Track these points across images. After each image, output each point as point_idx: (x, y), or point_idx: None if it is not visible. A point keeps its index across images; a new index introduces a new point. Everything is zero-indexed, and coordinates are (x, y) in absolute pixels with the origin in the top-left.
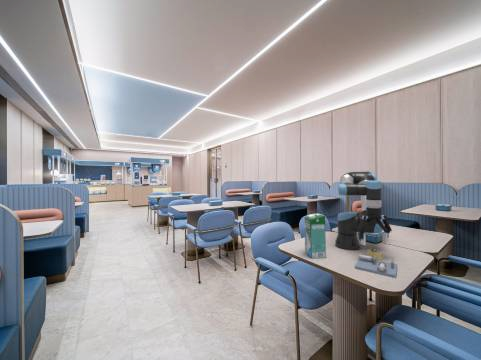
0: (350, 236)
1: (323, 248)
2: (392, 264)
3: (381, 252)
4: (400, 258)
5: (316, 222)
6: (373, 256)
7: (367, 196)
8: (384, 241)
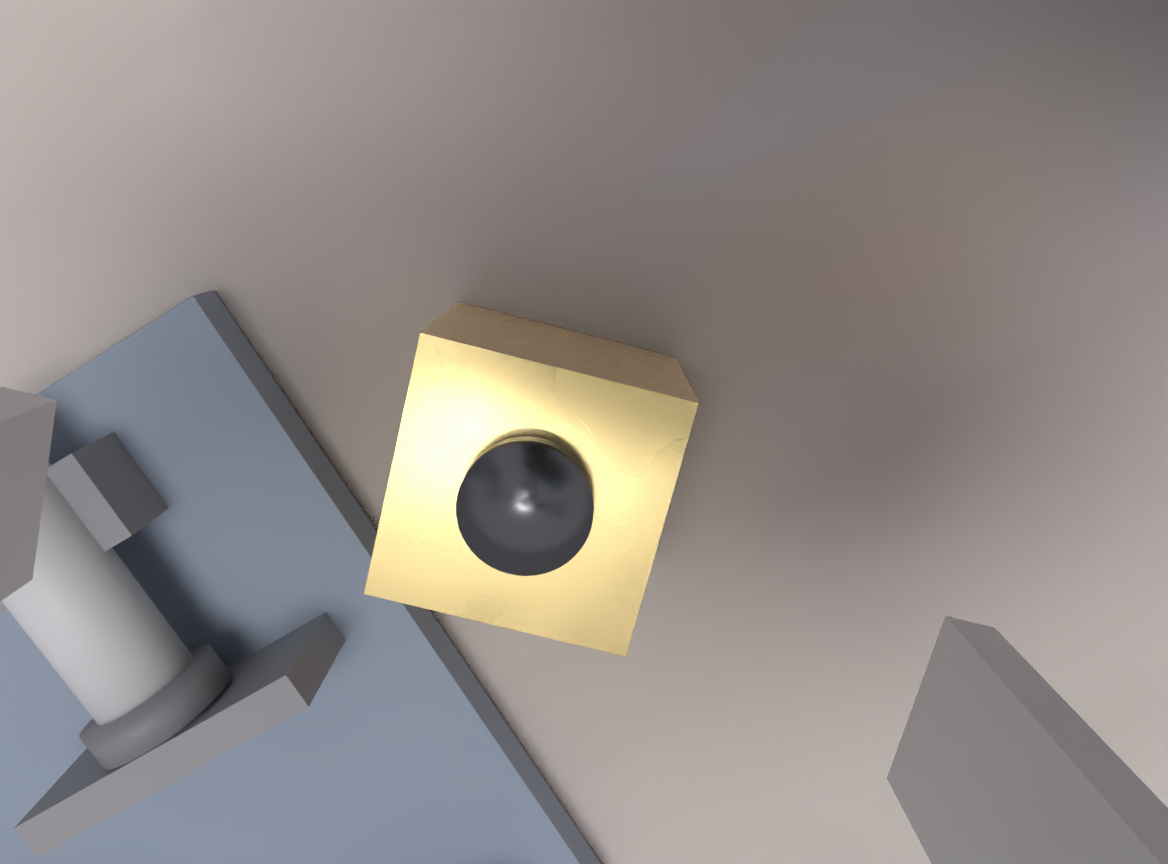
0: None
1: None
2: None
3: (616, 644)
4: (1133, 647)
5: None
6: (129, 755)
7: None
8: (945, 739)
